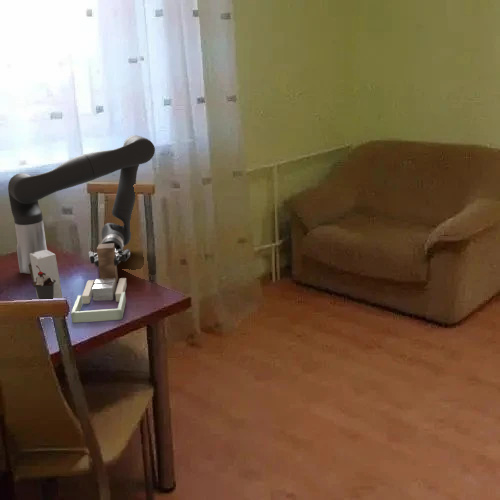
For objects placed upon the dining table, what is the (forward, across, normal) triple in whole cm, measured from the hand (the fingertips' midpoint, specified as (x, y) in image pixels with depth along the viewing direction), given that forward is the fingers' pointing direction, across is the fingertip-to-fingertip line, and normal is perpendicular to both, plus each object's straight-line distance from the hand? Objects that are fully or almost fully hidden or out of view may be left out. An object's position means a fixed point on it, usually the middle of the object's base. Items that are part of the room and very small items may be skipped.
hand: (106, 263), depth 243 cm
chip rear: (+7, 0, +7) cm, 10 cm away
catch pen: (+24, 0, +7) cm, 25 cm away
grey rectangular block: (+12, 0, +7) cm, 14 cm away
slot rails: (+9, 0, +7) cm, 12 cm away
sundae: (+23, -15, +7) cm, 29 cm away
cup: (-2, -21, +7) cm, 22 cm away
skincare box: (+10, -17, +7) cm, 21 cm away
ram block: (-3, 0, +7) cm, 7 cm away
